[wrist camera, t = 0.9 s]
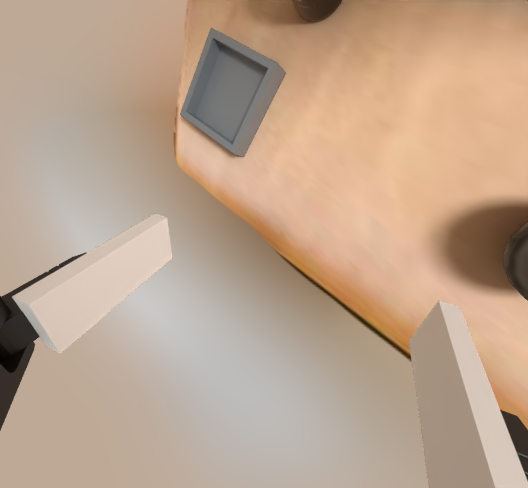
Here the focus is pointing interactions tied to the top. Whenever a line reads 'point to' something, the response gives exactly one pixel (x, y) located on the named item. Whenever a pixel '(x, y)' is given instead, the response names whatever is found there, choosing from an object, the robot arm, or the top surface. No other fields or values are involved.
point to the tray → (231, 92)
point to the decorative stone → (518, 260)
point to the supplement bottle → (316, 8)
